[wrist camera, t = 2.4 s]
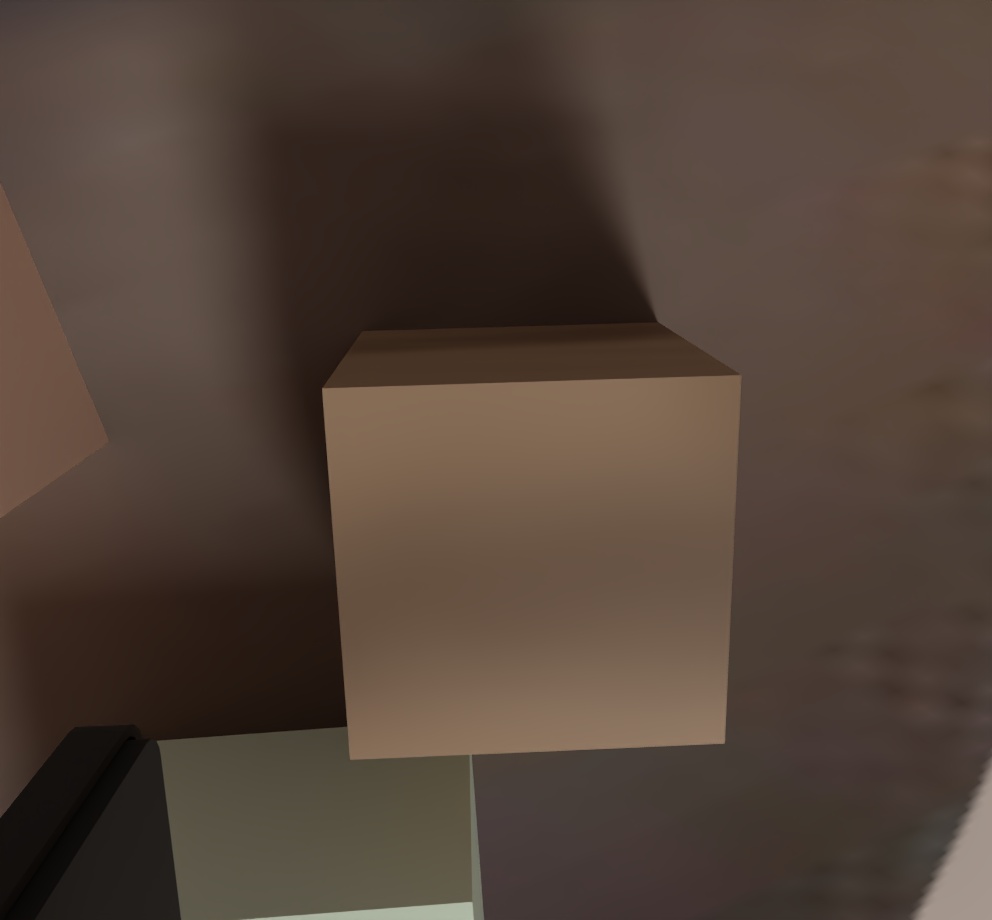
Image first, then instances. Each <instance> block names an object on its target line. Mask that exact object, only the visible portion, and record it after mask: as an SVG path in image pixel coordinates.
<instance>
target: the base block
mask: <svg viewBox="0 0 992 920" xmlns="http://www.w3.org/2000/svg"><path fill="white" fill-rule="evenodd" d="M157 743H158V745H159V748H160V753H161V760H162V769H163V777H164V785H165V793H166V801H167V809H168V817H169V825H170V833H171V841H172V850H173V858H174V866H175V874H176V882H177V890H178V898H179V906H180V914H181V920H484V914H483V901H482V888H481V874H480V861H479V848H478V834H477V821H476V808H475V794H474V781H473V768H472V755H450V756H427V757H405V758H382V759H359V760H350V754H349V740H348V727H338V728H324V729H310V730H297V731H283V732H269V733H256V734H242V735H228V736H215V737H201V738H187V739H174V740H160V741H157Z"/></svg>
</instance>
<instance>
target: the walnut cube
mask: <svg viewBox="0 0 992 920" xmlns="http://www.w3.org/2000/svg"><path fill="white" fill-rule="evenodd" d="M322 394H323V408H324V421H325V434H326V448H327V461H328V474H329V488H330V501H331V514H332V527H333V541H334V554H335V567H336V581H337V594H338V607H339V621H340V634H341V647H342V661H343V674H344V687H345V700H346V714H347V727H348V740H349V754H350V760H359V759H382V758H405V757H427V756H450V755H473V754H496V753H519V752H542V751H564V750H587V749H610V748H633V747H656V746H679V745H702V744H724V743H725V724H726V702H727V680H728V659H729V637H730V615H731V593H732V571H733V549H734V528H735V506H736V484H737V462H738V440H739V418H740V396H741V375H740V374H739V373H737V372H736V371H734V370H733V369H731V368H729V367H728V366H726V365H725V364H723V363H721V362H720V361H718V360H717V359H715V358H714V357H712V356H710V355H709V354H707V353H706V352H704V351H703V350H701V349H699V348H698V347H696V346H695V345H693V344H691V343H690V342H688V341H687V340H685V339H684V338H682V337H680V336H679V335H677V334H676V333H674V332H672V331H671V330H669V329H668V328H666V327H665V326H663V325H661V324H660V323H658V322H647V323H614V324H580V325H547V326H513V327H480V328H446V329H412V330H379V331H362V332H361V334H360V335H359V336H358V338H357V339H356V341H355V342H354V344H353V345H352V346H351V348H350V349H349V351H348V352H347V354H346V355H345V356H344V358H343V359H342V361H341V362H340V364H339V365H338V366H337V368H336V369H335V371H334V372H333V374H332V375H331V376H330V378H329V379H328V381H327V382H326V384H325V385H324V386H323V388H322Z"/></svg>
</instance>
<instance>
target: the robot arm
mask: <svg viewBox="0 0 992 920" xmlns="http://www.w3.org/2000/svg"><path fill="white" fill-rule="evenodd" d="M0 920H181V914H180V906H179V898H178V890H177V882H176V874H175V866H174V858H173V850H172V841H171V833H170V825H169V817H168V809H167V801H166V793H165V785H164V777H163V769H162V760H161V753H160V748H159V745H158V743H157V741H155V740H154V739H142V735H141V733H140V731H139V729H138V728H137V727H136V726H135V725H119V726H88V727H75V728H74V729H73V730H72V731H70V732H69V733H68V735H67V736H66V737H65V738H64V740H63V741H62V742H61V743H60V745H59V746H58V747H57V748H56V750H55V751H54V752H53V753H52V755H51V756H50V757H49V758H48V760H47V761H46V762H45V763H44V765H43V766H42V767H41V768H40V770H39V771H38V772H37V773H36V775H35V776H34V777H33V778H32V780H31V781H30V782H29V783H28V785H27V786H26V787H25V788H24V790H23V791H22V792H21V793H20V795H19V796H18V797H17V798H16V800H15V801H14V802H13V803H12V804H11V806H10V807H9V808H8V809H7V811H6V812H5V813H4V814H3V816H2V817H1V818H0Z"/></svg>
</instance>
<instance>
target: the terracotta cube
mask: <svg viewBox="0 0 992 920" xmlns="http://www.w3.org/2000/svg"><path fill="white" fill-rule="evenodd" d="M108 442H109V440H108V437H107V435H106V433H105V430H104V428H103V425H102V423H101V421H100V418H99V416H98V414H97V411H96V409H95V406H94V404H93V402H92V399H91V397H90V395H89V392H88V390H87V387H86V385H85V383H84V380H83V378H82V375H81V373H80V371H79V368H78V366H77V364H76V361H75V359H74V356H73V354H72V352H71V349H70V347H69V345H68V342H67V340H66V337H65V335H64V333H63V330H62V328H61V326H60V323H59V321H58V318H57V316H56V314H55V311H54V309H53V307H52V304H51V302H50V299H49V297H48V295H47V292H46V290H45V287H44V285H43V283H42V280H41V278H40V276H39V273H38V271H37V268H36V266H35V264H34V261H33V259H32V257H31V254H30V252H29V249H28V247H27V245H26V242H25V240H24V238H23V235H22V233H21V230H20V228H19V226H18V223H17V221H16V219H15V216H14V214H13V211H12V209H11V207H10V204H9V202H8V199H7V197H6V195H5V192H4V190H3V188H2V185H1V183H0V518H1V517H3V516H4V515H6V514H7V513H9V512H10V511H11V510H13V509H14V508H16V507H17V506H19V505H20V504H21V503H23V502H24V501H26V500H27V499H29V498H30V497H31V496H33V495H34V494H36V493H37V492H39V491H40V490H41V489H43V488H44V487H46V486H47V485H49V484H50V483H51V482H53V481H54V480H56V479H57V478H58V477H60V476H61V475H63V474H64V473H66V472H67V471H68V470H70V469H71V468H73V467H74V466H76V465H77V464H78V463H80V462H81V461H83V460H84V459H86V458H87V457H88V456H90V455H91V454H93V453H94V452H96V451H97V450H98V449H100V448H101V447H103V446H104V445H106V444H107V443H108Z"/></svg>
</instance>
